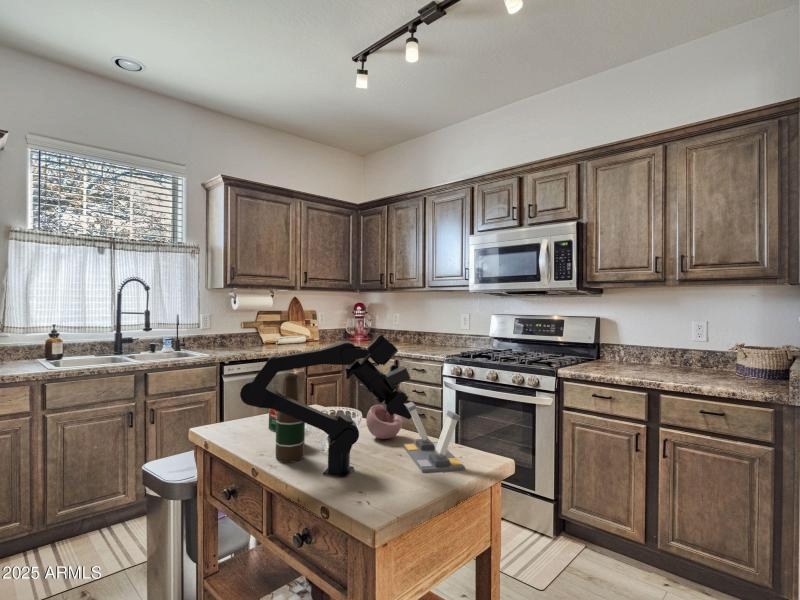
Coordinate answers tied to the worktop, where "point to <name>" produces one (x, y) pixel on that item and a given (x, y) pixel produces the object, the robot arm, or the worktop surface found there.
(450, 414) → the lever front
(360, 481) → the worktop surface
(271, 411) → the canned tomato
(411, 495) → the worktop surface
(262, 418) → the worktop surface
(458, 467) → the switch base
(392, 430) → the mortar and pestle
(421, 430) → the lever rear
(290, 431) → the beer bottle
